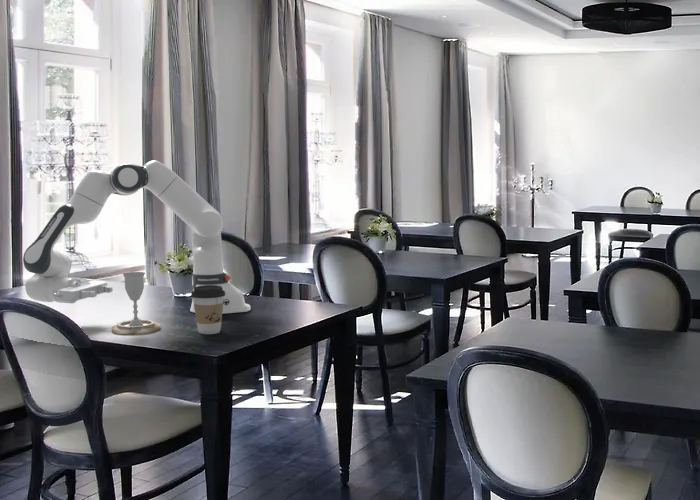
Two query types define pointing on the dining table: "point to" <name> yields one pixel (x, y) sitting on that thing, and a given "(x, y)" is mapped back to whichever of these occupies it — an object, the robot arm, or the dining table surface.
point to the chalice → (134, 292)
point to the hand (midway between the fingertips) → (103, 292)
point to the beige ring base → (135, 327)
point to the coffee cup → (208, 308)
